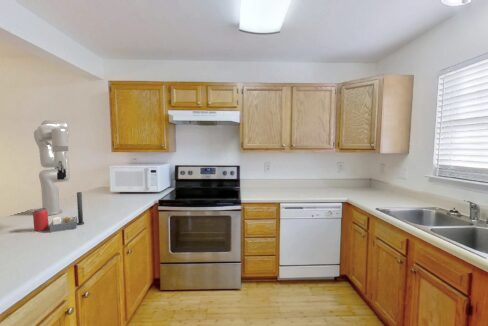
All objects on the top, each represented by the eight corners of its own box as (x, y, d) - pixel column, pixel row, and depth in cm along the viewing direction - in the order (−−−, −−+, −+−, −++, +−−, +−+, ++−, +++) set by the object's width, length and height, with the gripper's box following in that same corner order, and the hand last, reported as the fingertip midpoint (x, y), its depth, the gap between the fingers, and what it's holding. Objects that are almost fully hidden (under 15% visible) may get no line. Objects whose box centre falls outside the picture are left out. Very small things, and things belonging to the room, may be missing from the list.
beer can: (31, 232, 138) (30, 211, 137) (37, 228, 144) (36, 208, 143) (45, 231, 139) (44, 210, 138) (51, 227, 146) (49, 207, 145)
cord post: (77, 223, 152) (75, 192, 151) (84, 222, 154) (82, 191, 153) (77, 225, 149) (75, 193, 148) (84, 224, 151) (82, 192, 150)
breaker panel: (53, 226, 148) (52, 217, 147) (77, 222, 154) (76, 214, 154) (50, 232, 138) (49, 222, 137) (76, 228, 144) (75, 219, 143)
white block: (54, 222, 142) (54, 217, 142) (60, 221, 143) (60, 216, 143) (53, 224, 138) (53, 219, 138) (60, 223, 140) (59, 218, 140)
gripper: (54, 149, 148) (55, 177, 149) (50, 149, 133) (51, 180, 134) (69, 149, 152) (70, 176, 153) (66, 149, 137) (68, 179, 138)
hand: (61, 178), depth 144 cm, fingers open, 9 cm apart
